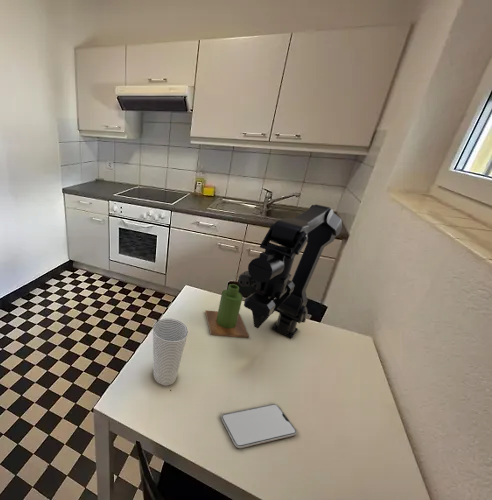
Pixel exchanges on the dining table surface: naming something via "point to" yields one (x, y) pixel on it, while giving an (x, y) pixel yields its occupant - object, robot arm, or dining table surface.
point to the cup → (168, 349)
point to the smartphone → (257, 425)
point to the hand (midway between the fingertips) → (263, 320)
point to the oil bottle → (229, 307)
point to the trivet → (221, 331)
